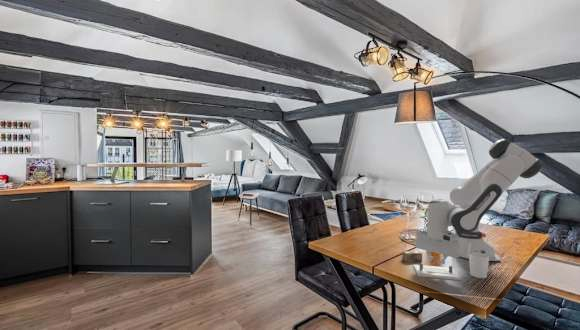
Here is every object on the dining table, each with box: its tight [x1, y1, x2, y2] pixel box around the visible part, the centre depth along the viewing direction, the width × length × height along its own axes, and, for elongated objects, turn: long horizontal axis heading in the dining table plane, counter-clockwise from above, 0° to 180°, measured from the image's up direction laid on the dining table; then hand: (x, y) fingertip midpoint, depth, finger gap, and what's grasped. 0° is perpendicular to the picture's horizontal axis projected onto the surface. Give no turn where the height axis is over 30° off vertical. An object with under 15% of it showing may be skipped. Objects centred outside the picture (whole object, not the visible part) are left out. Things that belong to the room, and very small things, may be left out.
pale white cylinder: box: [468, 252, 490, 279], centre depth 137 cm, size 8×8×10 cm
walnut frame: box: [401, 250, 423, 263], centre depth 155 cm, size 9×4×5 cm, turn 97°
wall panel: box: [413, 262, 462, 281], centre depth 139 cm, size 18×12×4 cm, turn 77°
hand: (436, 261), depth 139 cm, fingers open, 4 cm apart
